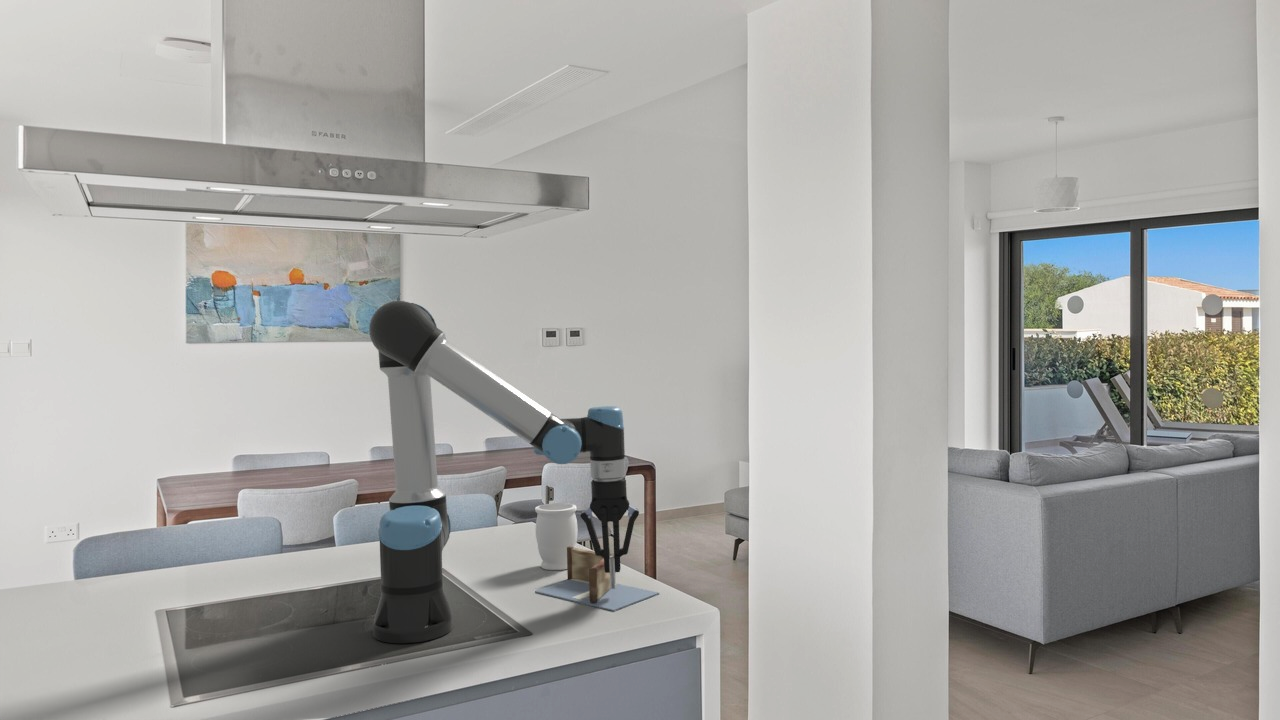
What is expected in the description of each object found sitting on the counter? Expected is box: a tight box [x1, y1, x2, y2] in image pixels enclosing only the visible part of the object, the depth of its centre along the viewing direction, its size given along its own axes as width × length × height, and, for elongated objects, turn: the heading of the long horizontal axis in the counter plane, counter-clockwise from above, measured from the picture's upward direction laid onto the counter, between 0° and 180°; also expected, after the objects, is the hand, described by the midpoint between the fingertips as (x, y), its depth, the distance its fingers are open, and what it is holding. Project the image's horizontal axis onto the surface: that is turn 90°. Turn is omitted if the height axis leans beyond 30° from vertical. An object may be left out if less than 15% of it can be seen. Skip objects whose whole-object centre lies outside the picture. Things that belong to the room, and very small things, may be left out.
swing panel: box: [589, 558, 610, 603], centre depth 190 cm, size 12×2×7 cm, turn 165°
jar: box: [534, 502, 579, 571], centre depth 217 cm, size 11×10×15 cm
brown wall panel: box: [566, 547, 614, 581], centre depth 201 cm, size 14×2×8 cm, turn 50°
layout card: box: [535, 578, 660, 612], centre depth 193 cm, size 24×15×1 cm, turn 50°
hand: (613, 587), depth 188 cm, fingers closed
